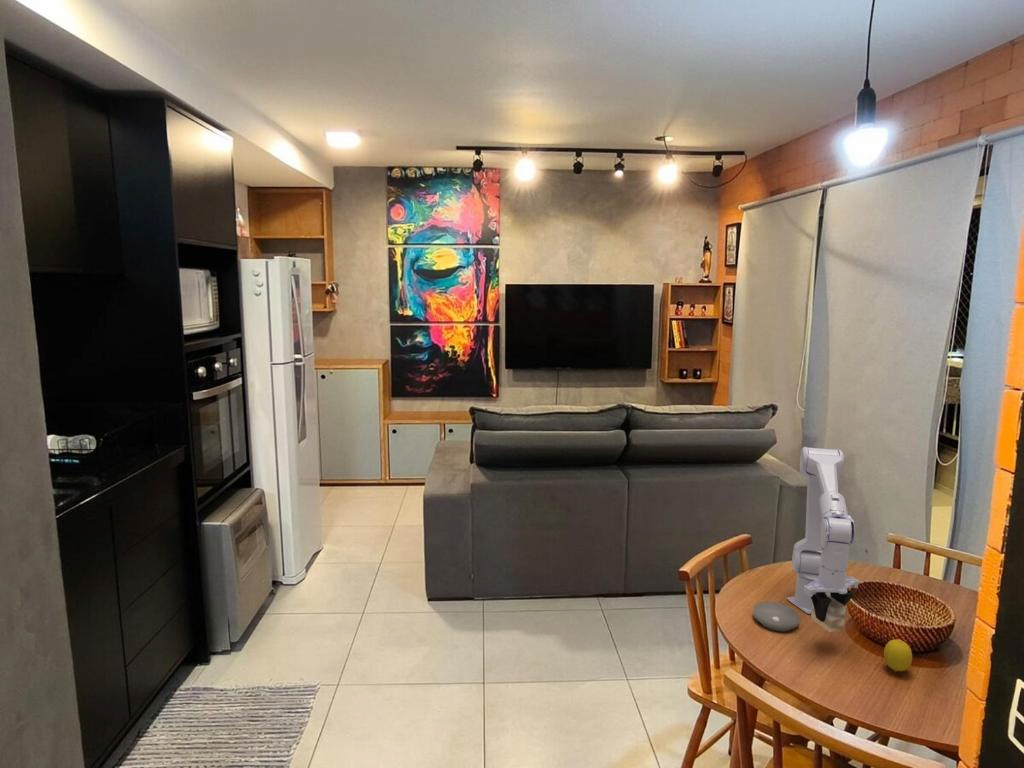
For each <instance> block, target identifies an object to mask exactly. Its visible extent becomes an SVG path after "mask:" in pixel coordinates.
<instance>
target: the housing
mask: <svg viewBox="0 0 1024 768" xmlns="http://www.w3.org/2000/svg"><path fill="white" fill-rule="evenodd" d="M827 597H829V598H830V599H832V601H831V602H830V604H829V606H828V609H827V613H826V618H825V621H824V622H821V621H820V620H818V619H817V618H816V615H815V610H814V605H813V604H812V613H811V615H810V616H811V617H810V619H811V620H812V621H813V622H815V623H816V624H817V625H819V626H821V627H822V628H823V629H824V630H826V631H827V632H829V633H832V632H833V633H834V632H837V631H843V630H844V629H845V628H844V625H845V619H846V612H847V611H846V610H847V605H846V606H844V605H843V604H841V603H840V602H838V601H837V600H835V599H833V598H832V597H830V596H829V595H827Z"/></svg>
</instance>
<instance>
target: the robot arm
mask: <svg viewBox="0 0 1024 768" xmlns="http://www.w3.org/2000/svg"><path fill="white" fill-rule="evenodd" d="M844 464H845V457H844V452H843V451H842V450H841V449H833V448H830V449H829V448H818V447H808V446H803V448H801V449H800V454H799V475H800V476H801V477H802V478H805V479H806V485H807V486H806V506H805V507H806V510H805V511H806V512H805V535H804V536H805V537H804V538H802V539H801V540H799V541H797V542H795V544H794V545H793V549H792V550H793V551H792V555H791V557H792V558H791V566H792V570H793V572H795V574H796V582H795V590H794V596H790V597H789V596H788V597H787V598H786V600H788V601H789V602H790V603H791V604H793V605H795V606H796V607H797V608H799V609H800V610H802V612H804V613H806V614H808V615H809V614H812V604H813V605H814V610H815V615H816V618H817V619H818V620H820V621H821V622H824V621H825V618H826V613H827V609H828V606H829V604H830V602H831V601H832V599H830V598H829V597H827V595H829V596H830V597H832V598H833V599H835V600H837V601H838V602H840V603H841V604H843V605H844V606H846V607H847V604H848V603H849V602H850V600H852V598H853V597H854V592H853V591H851V590H850V588H852V589H853V588H854V589H858V588H859V580H858V579H857V578H855V577H853V576H847V572H848V565H849V564H848V563H849V555H850V546H851V545H850V544H854V542H855V539H856V538H855V537H856V525H855V521H854V519H853V518H852V517H851V515H849V514H848V513H849V512H848V508H847V505H846V499H845V497H844V496H843V494H841V493H839V484H838V481H839V480H838V476H840V475H841V472H842V471H843V469H844Z"/></svg>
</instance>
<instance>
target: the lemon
mask: <svg viewBox="0 0 1024 768" xmlns="http://www.w3.org/2000/svg"><path fill="white" fill-rule="evenodd" d="M883 658H884V659H883V660H884V662H885V663H886V665H887V666H888V667H889V668H890V669H891V670H893V671H894V672H896V673H898V672H904V671H907V670H908V669H909V668H910V667H911V666H912V665H911V664H912V663H913V653H912V649H911V647H910V646H909V645H908V644H907V643H906V642H905V641H903V640H902V639H900V638H899V639H891V640H889V641H888V642H887V643H886V644H885V647H884V649H883Z"/></svg>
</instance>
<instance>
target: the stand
mask: <svg viewBox="0 0 1024 768" xmlns="http://www.w3.org/2000/svg"><path fill="white" fill-rule="evenodd" d="M752 614H753V617H754V618H755V619H756V620H757V622H758V621H759V622H760V623H761V624H762V626H763V627H765V628H766V627H767V628H766V629H769V630H771V629H772V631H775V630H776V631H775V632H789V631H791V630H793V629H794V628H796V627H798V625H799V624H800V615H799V613H798V612H797V611H796V610H795V609H793V608H792V607H790V606H788V605H786V604H783V603H780V602H775V601H760V602H757V603H755V605H754V606H753V613H752ZM759 622H758V623H759ZM760 623H759V624H760ZM761 624H760V625H761Z"/></svg>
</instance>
